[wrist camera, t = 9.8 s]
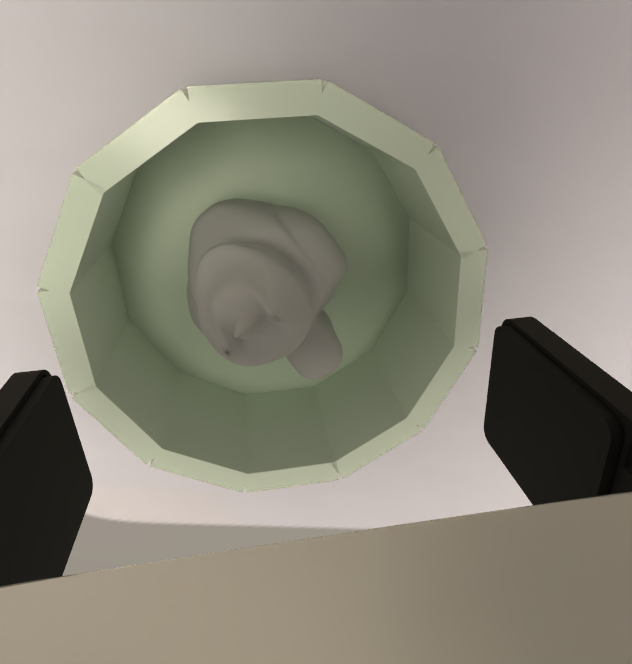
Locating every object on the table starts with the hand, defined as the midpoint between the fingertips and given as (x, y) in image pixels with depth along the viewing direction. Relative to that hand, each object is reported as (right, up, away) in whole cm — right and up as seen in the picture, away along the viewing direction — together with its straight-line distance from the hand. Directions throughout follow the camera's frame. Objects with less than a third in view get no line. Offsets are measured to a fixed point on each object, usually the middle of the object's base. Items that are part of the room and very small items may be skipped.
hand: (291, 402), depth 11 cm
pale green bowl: (-1, +4, +9) cm, 10 cm away
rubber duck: (-1, +4, +8) cm, 9 cm away
